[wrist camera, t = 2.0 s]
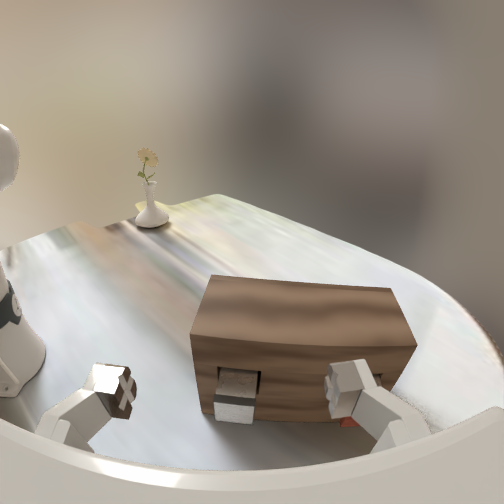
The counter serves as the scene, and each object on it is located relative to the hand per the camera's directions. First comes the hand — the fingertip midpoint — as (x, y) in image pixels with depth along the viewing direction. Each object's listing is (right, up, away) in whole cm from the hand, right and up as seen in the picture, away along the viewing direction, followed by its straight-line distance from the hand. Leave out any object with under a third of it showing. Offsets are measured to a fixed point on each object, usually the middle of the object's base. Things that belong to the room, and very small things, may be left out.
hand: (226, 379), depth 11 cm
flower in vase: (-32, +14, +81) cm, 88 cm away
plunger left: (-1, -12, +20) cm, 23 cm away
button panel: (+7, -16, +28) cm, 33 cm away
